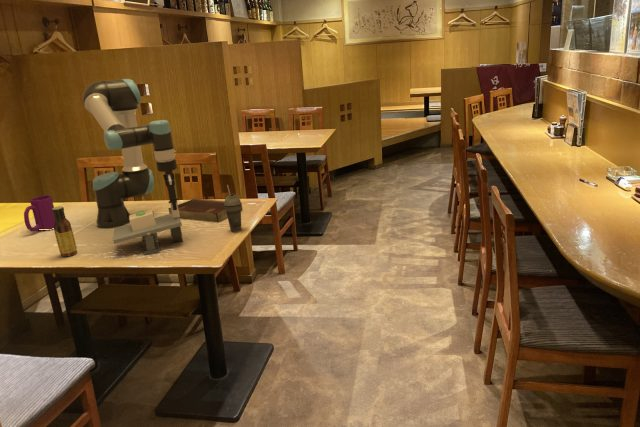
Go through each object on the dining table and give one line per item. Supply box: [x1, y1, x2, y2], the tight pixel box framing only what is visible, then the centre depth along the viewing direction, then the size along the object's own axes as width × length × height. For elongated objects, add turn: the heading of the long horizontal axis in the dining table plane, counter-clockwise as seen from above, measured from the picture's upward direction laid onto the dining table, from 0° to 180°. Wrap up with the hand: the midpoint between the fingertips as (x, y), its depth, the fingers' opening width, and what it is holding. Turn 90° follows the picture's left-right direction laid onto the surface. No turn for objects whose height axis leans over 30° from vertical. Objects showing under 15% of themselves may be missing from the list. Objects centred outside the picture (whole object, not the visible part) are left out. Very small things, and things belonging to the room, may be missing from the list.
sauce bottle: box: [52, 205, 78, 257], centre depth 201 cm, size 6×6×20 cm
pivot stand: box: [141, 226, 184, 256], centre depth 209 cm, size 16×22×7 cm
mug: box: [23, 195, 55, 232], centre depth 236 cm, size 9×16×15 cm, turn 163°
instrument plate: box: [112, 209, 183, 245], centre depth 205 cm, size 26×16×8 cm, turn 110°
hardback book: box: [168, 198, 243, 223], centre depth 244 cm, size 29×19×5 cm, turn 63°
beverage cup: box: [223, 184, 242, 233], centre depth 215 cm, size 7×7×20 cm
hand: (176, 216), depth 208 cm, fingers closed
